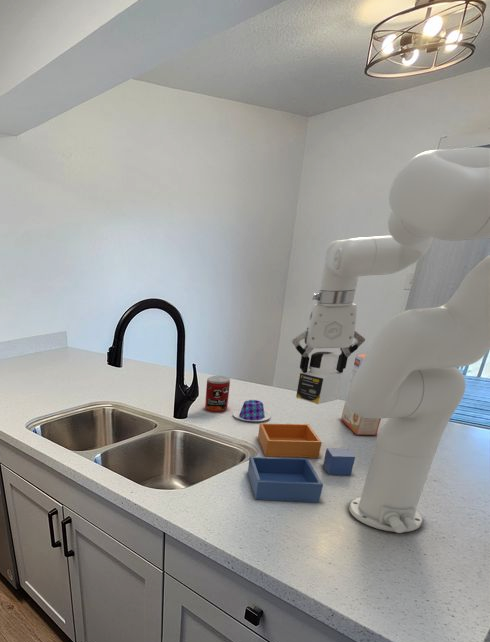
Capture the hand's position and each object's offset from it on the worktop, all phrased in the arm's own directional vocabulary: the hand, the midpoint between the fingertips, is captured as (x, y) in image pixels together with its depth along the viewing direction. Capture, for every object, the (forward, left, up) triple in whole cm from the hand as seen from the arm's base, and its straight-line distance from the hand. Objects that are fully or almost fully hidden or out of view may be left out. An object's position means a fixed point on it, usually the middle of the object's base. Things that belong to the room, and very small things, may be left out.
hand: (321, 371), depth 111 cm
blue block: (-13, -4, -22) cm, 26 cm away
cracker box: (+18, -19, -22) cm, 34 cm away
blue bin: (-23, +11, -22) cm, 34 cm away
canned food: (+34, +22, -22) cm, 46 cm away
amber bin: (+1, +5, -22) cm, 22 cm away
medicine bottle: (0, 0, -8) cm, 8 cm away
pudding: (+26, +11, -22) cm, 36 cm away
